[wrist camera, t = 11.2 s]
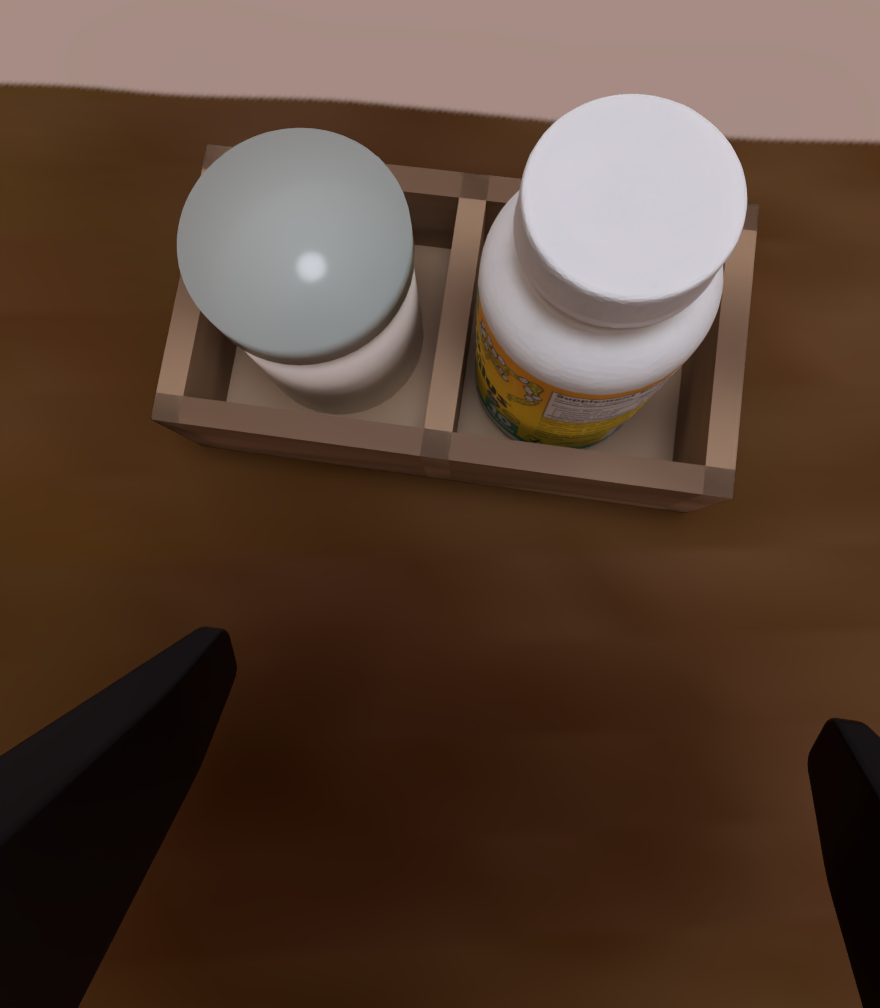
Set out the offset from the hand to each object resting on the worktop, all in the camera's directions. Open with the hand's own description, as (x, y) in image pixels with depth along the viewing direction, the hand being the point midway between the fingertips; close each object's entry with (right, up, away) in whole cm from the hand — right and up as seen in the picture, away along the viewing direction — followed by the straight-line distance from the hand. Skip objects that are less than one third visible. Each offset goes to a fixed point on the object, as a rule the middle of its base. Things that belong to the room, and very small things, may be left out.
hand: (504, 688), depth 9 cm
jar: (-4, +9, +11) cm, 15 cm away
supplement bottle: (+3, +7, +11) cm, 13 cm away
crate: (0, +8, +12) cm, 14 cm away
